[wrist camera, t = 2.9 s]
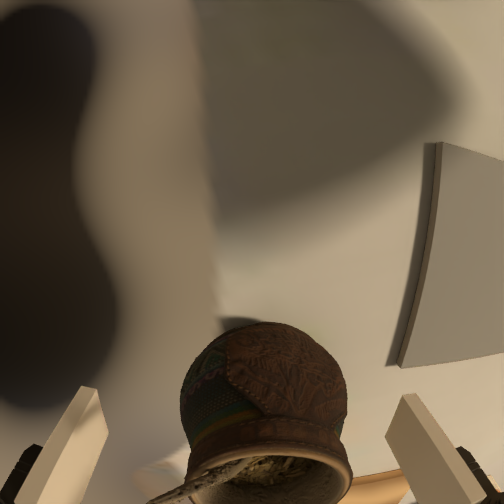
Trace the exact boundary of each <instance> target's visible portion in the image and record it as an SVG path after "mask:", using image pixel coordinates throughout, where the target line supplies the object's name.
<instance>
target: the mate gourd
mask: <svg viewBox="0 0 504 504" xmlns="http://www.w3.org/2000/svg"><path fill="white" fill-rule="evenodd" d="M347 399H348V398H347V389H346V384H345V380H344V378H343V375H342V371H341V369H340V367H339V365H338V363H337V362H336V361H335V359H334V358H333V357H332V356H331V355H330V354H329V353H328V351H326V350H325V349H324V348H323V347H322V346H321V345H319V344H318V343H316V342H315V341H314V340H313V339H312V338H311V337H310V336H309V335H307V334H306V333H304V332H303V331H301V330H299V329H297V328H294V327H292V326H290V325H287V324H282V323H275V322H260V323H257V324H253V325H249V326H244V327H240V328H234V329H232V330H229V331H227V332H225V333H224V334H222V335H220V336H219V337H217V338H216V339H214V340H213V341H212V342H211V343H210V344H209V345H208V346H207V347H206V348H205V349H204V350H203V352H202V353H201V354H200V355H199V356H198V357H196V359H195V361H194V362H193V364H192V365H191V367H190V369H189V370H188V373H187V374H186V377H185V379H184V382H183V386H182V389H181V395H180V414H181V421H182V425H183V428H184V431H185V433H186V436H187V439H188V442H189V445H190V448H191V453H190V456H189V459H188V468H187V474H186V476H185V478H184V479H185V482H184V484H183V485H181V486H179V487H177V488H175V489H173V490H171V491H168V492H167V493H165V494H162V495H160V496H158V497H156V498H154V499H152V500H150V501H149V502H147V503H146V504H171V503H172V504H175V503H174V502H177V501H179V502H181V500H183V499H184V498H186V497H187V496H188V498H189V499H190V500H191V502H192V503H193V504H337V503H338V502H339V501H340V500H341V499H342V498H343V497H344V496H345V495H346V494H347V492H348V491H349V489H350V487H351V484H352V480H353V472H352V469H351V466H350V465H349V462H348V457H347V454H346V450H345V448H344V445H343V444H342V443H341V441H340V435H341V432H342V428H343V424H344V419H345V418H346V416H347Z"/></svg>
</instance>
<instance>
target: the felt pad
mask: <svg viewBox="0 0 504 504" xmlns="http://www.w3.org/2000/svg"><path fill="white" fill-rule="evenodd" d="M503 352H504V161H501V160H498V159H495V158H492V157H489V156H486V155H483V154H480V153H477V152H474V151H471V150H468V149H465V148H461V147H458V146H455V145H451V144H448V143H444V142H438V143H436V157H435V171H434V183H433V193H432V202H431V210H430V218H429V225H428V232H427V238H426V244H425V250H424V256H423V261H422V266H421V271H420V276H419V281H418V286H417V290H416V294H415V299H414V303H413V307H412V311H411V315H410V319H409V323H408V326H407V330H406V333H405V337H404V340H403V344H402V347H401V351H400V354H399V357H398V360H397V364H398V366H399V367H400V368H401V369H403V368H412V367H420V366H428V365H436V364H443V363H449V362H456V361H462V360H468V359H473V358H479V357H484V356H489V355H494V354H499V353H503Z"/></svg>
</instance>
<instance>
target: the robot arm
mask: <svg viewBox="0 0 504 504" xmlns="http://www.w3.org/2000/svg"><path fill="white" fill-rule="evenodd" d="M108 434H109V431H108V428H107V425H106V421H105V418H104V414H103V411H102V407H101V403H100V400H99V396H98V392H97V389H94V388H89V387H84V386H81V387H80V389H79V390H78V392H77V393H76V395H75V396H74V398H73V400H72V401H71V403H70V404H69V406H68V408H67V409H66V411H65V413H64V414H63V416H62V417H61V419H60V421H59V422H58V424H57V426H56V427H55V429H54V431H53V432H52V434H51V436H50V437H49V439H48V441H47V442H46V444H45V446H44V447H41V446H39V445H36V444H33V445H32V446H30V447H29V448H27V449H26V450H25V451H24V452H23V454H22V455H21V457H20V459H19V462H17V464H16V466H15V469H13V470H12V472H11V474H10V475H9V477H8V479H7V481H6V482H5V484H4V486H3V488H2V490H1V491H0V504H81V501H82V498H83V496H84V493H85V491H86V488H87V486H88V483H89V480H90V478H91V475H92V473H93V470H94V468H95V465H96V463H97V460H98V458H99V455H100V453H101V451H102V448H103V446H104V443H105V441H106V439H107V436H108ZM385 438H386V440H387V442H388V444H389V446H390V448H391V450H392V452H393V454H394V456H395V458H396V460H397V462H398V464H399V466H400V468H401V470H402V472H403V474H404V476H405V478H406V480H407V482H408V484H409V486H410V488H411V490H412V492H413V494H414V496H415V498H416V500H417V502H418V504H504V492H498V491H497V490H496V489H495V488H494V486H493V485H492V483H491V482H490V480H489V479H488V477H487V476H486V474H485V473H484V472H483V470H482V469H480V466H479V464H478V463H477V462H476V460H475V459H474V457H473V456H472V455H471V453H470V452H469V451H467V450H466V449H464V448H463V447H462V446H460V447H458V448H455V447H454V446H453V444H452V443H451V441H450V440H449V438H448V437H447V436H446V434H445V433H444V431H443V430H442V429H441V427H440V426H439V424H438V423H437V422H436V420H435V419H434V417H433V416H432V415H431V413H430V412H429V410H428V409H427V408H426V406H425V405H424V404H423V402H422V401H421V399H420V398H419V397H418V395H417V394H416V393H414V394H407V395H402V397H401V400H400V402H399V405H398V407H397V410H396V412H395V414H394V417H393V419H392V422H391V424H390V426H389V428H388V431H387V433H386V435H385Z"/></svg>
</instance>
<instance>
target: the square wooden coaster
mask: <svg viewBox="0 0 504 504" xmlns="http://www.w3.org/2000/svg"><path fill="white" fill-rule="evenodd" d="M409 489H410V486H409V484H408V482H407V480H406V478H405V476H404V474H403V472H402V470H401V469H398V470H394V471H389V472H385V473H380V474H375V475H369V476H363V477H357V478H353V480H352V484H351V487H350V489H349V491H348V492H347V494H346V495H345V496H344V497H343V498H342V499H341V500H340V501H339V502H338V503H337V504H398V503H399V502H400V500H401V499H402V498H403V497H404V495H405V494H406V493H407V491H408V490H409Z"/></svg>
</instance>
